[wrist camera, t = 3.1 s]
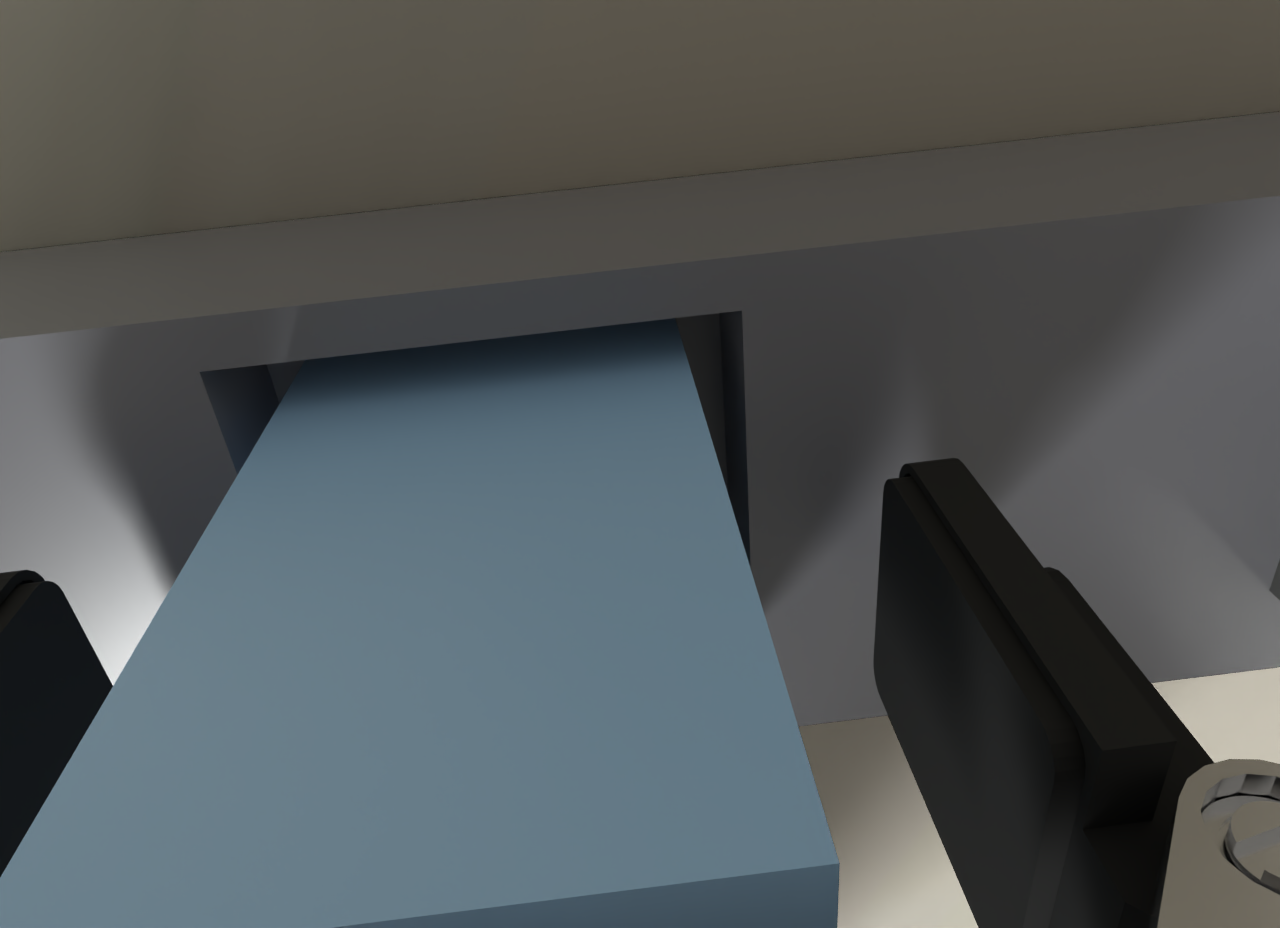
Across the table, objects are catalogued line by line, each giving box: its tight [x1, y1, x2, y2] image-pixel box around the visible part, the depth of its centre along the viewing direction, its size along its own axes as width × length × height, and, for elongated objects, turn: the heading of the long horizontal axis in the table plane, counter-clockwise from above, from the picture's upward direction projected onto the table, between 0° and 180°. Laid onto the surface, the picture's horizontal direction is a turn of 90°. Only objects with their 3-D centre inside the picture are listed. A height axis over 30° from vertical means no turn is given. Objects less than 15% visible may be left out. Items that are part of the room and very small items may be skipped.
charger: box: [0, 318, 839, 928], centre depth 9 cm, size 5×5×8 cm
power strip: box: [0, 112, 1280, 726], centre depth 11 cm, size 35×7×7 cm, turn 95°
